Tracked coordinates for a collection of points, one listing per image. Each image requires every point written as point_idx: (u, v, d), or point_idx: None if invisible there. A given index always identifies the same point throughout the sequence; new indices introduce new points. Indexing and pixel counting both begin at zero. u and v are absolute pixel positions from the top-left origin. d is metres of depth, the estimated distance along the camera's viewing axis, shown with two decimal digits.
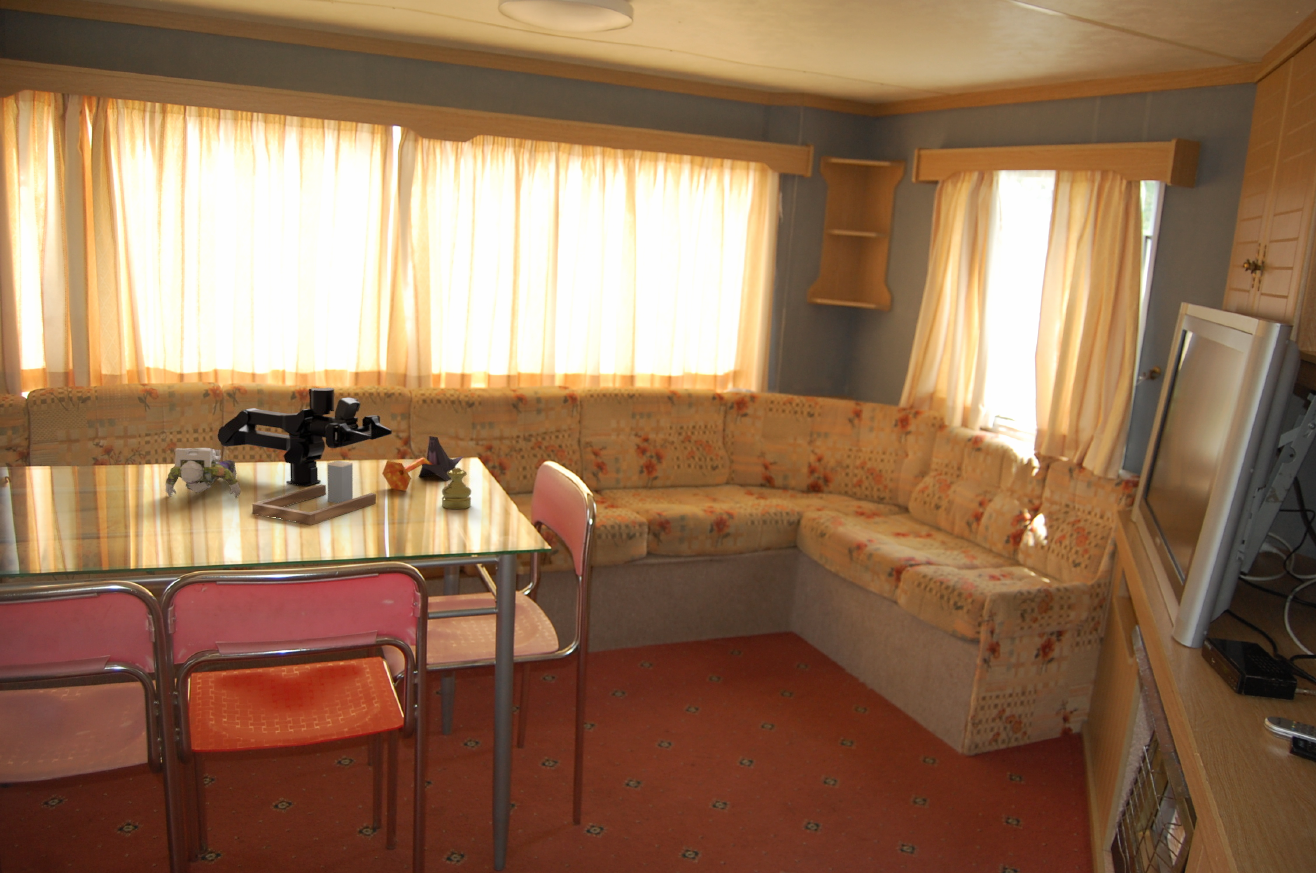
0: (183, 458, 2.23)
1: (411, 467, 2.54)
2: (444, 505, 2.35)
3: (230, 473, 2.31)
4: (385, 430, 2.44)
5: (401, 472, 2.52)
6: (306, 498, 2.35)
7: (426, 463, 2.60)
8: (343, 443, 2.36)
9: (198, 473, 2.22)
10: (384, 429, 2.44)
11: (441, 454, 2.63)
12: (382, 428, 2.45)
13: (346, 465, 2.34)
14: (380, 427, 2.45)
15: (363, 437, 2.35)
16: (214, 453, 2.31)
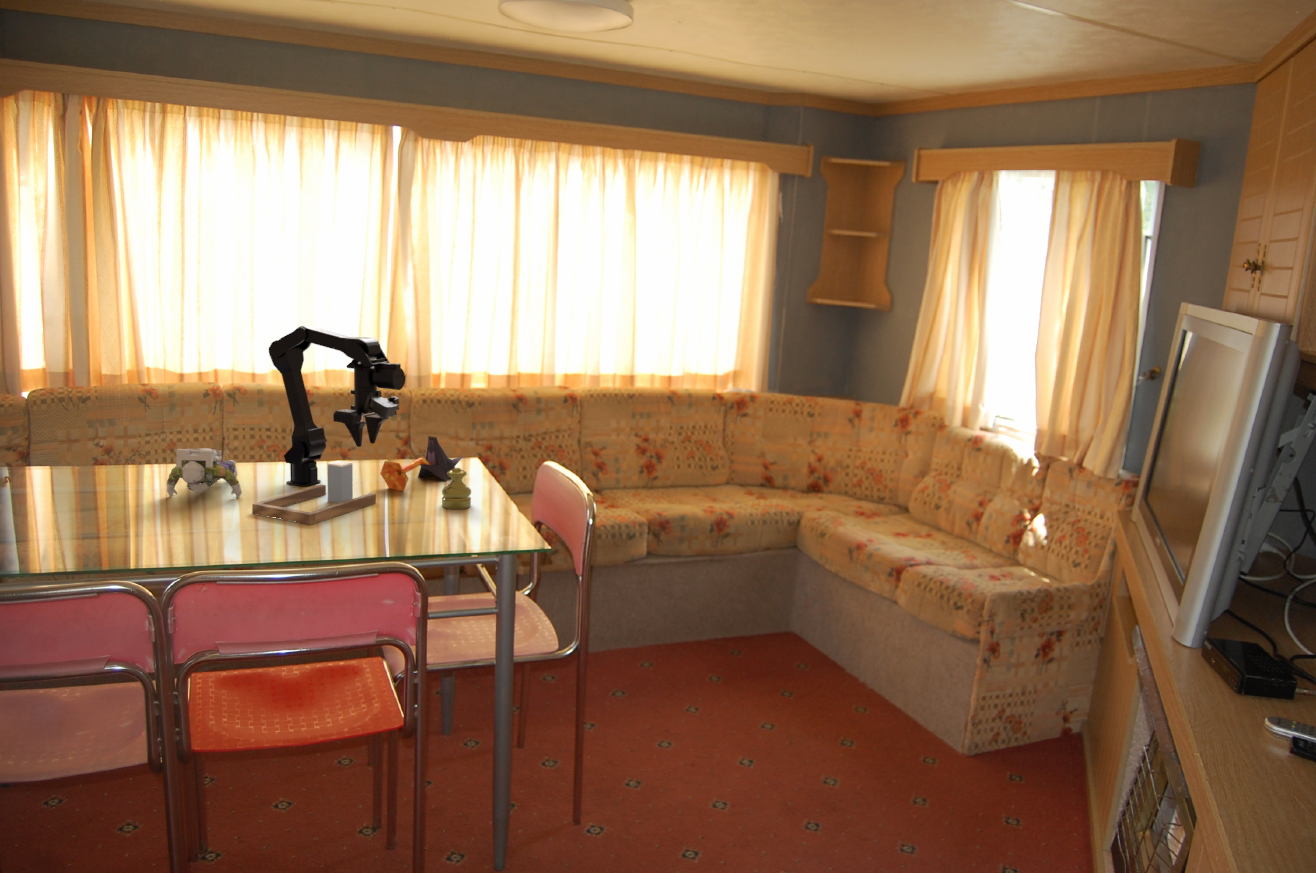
0: (184, 459, 2.23)
1: (409, 467, 2.54)
2: (444, 505, 2.35)
3: (231, 474, 2.31)
4: (372, 437, 2.45)
5: (399, 472, 2.52)
6: (306, 498, 2.35)
7: (425, 463, 2.60)
8: (347, 423, 2.38)
9: (199, 474, 2.22)
10: (373, 435, 2.45)
11: (440, 454, 2.63)
12: (374, 433, 2.45)
13: (346, 465, 2.34)
14: (375, 430, 2.45)
15: (358, 443, 2.40)
16: (215, 454, 2.30)
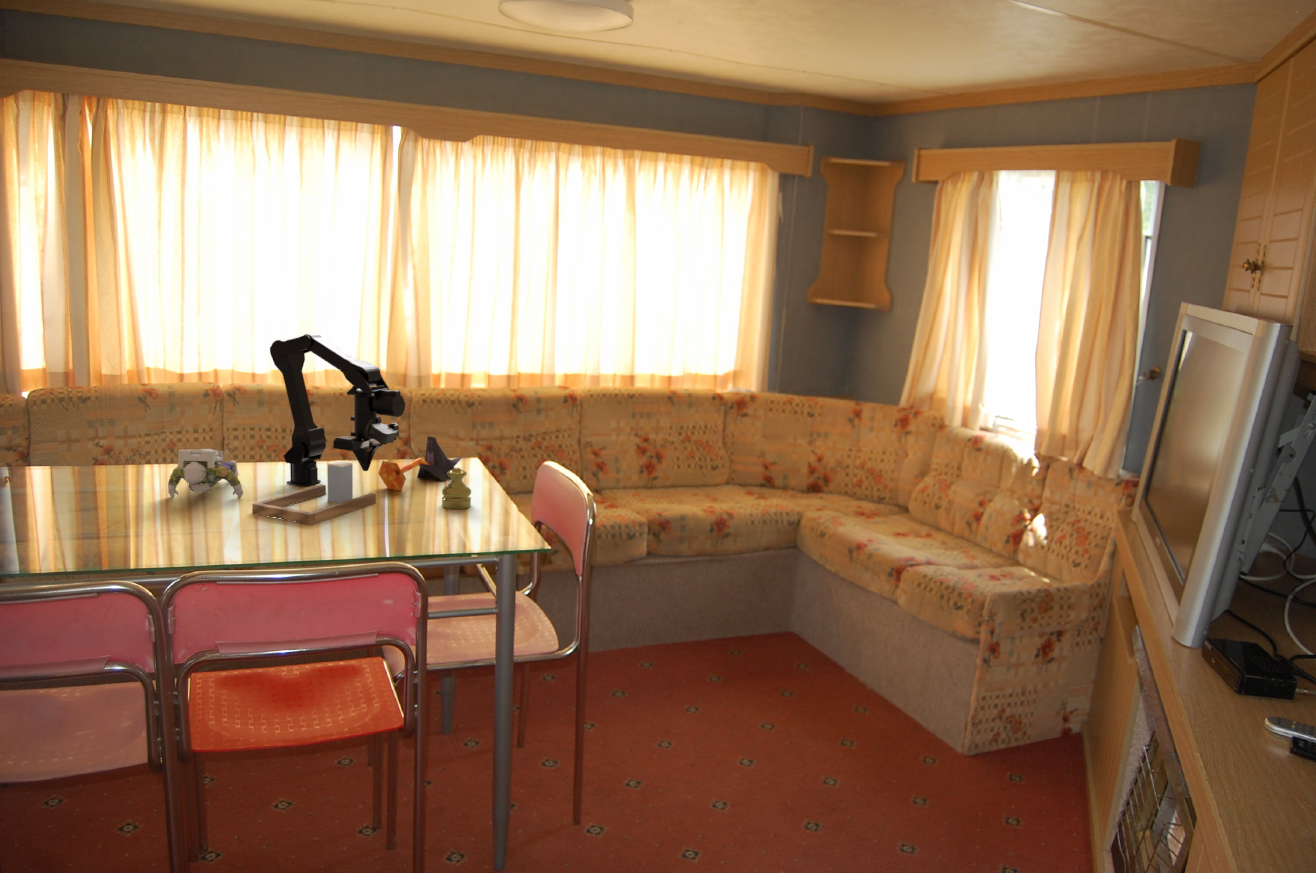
0: (186, 459, 2.22)
1: (407, 467, 2.54)
2: (444, 505, 2.35)
3: (233, 474, 2.30)
4: None
5: (397, 472, 2.52)
6: (306, 498, 2.35)
7: (423, 463, 2.60)
8: None
9: (201, 474, 2.22)
10: None
11: (439, 454, 2.63)
12: (368, 460, 2.44)
13: (346, 465, 2.34)
14: (369, 457, 2.44)
15: (364, 467, 2.44)
16: (217, 454, 2.30)
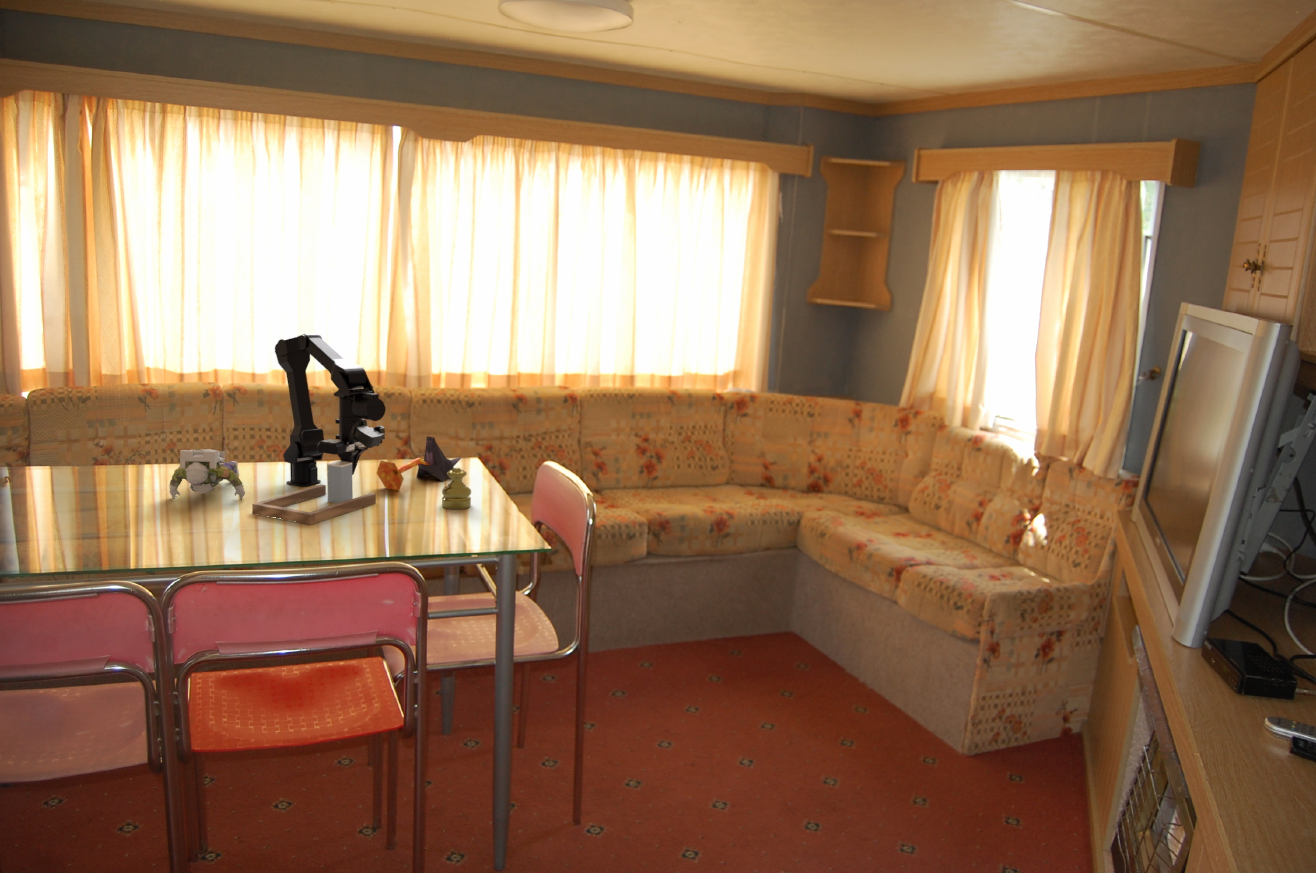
0: (188, 460, 2.22)
1: (406, 467, 2.54)
2: (444, 505, 2.35)
3: (235, 474, 2.30)
4: None
5: (395, 472, 2.52)
6: (306, 498, 2.35)
7: (422, 463, 2.60)
8: None
9: (203, 475, 2.21)
10: None
11: (438, 454, 2.63)
12: None
13: (346, 465, 2.33)
14: (354, 461, 2.38)
15: None
16: (218, 454, 2.30)
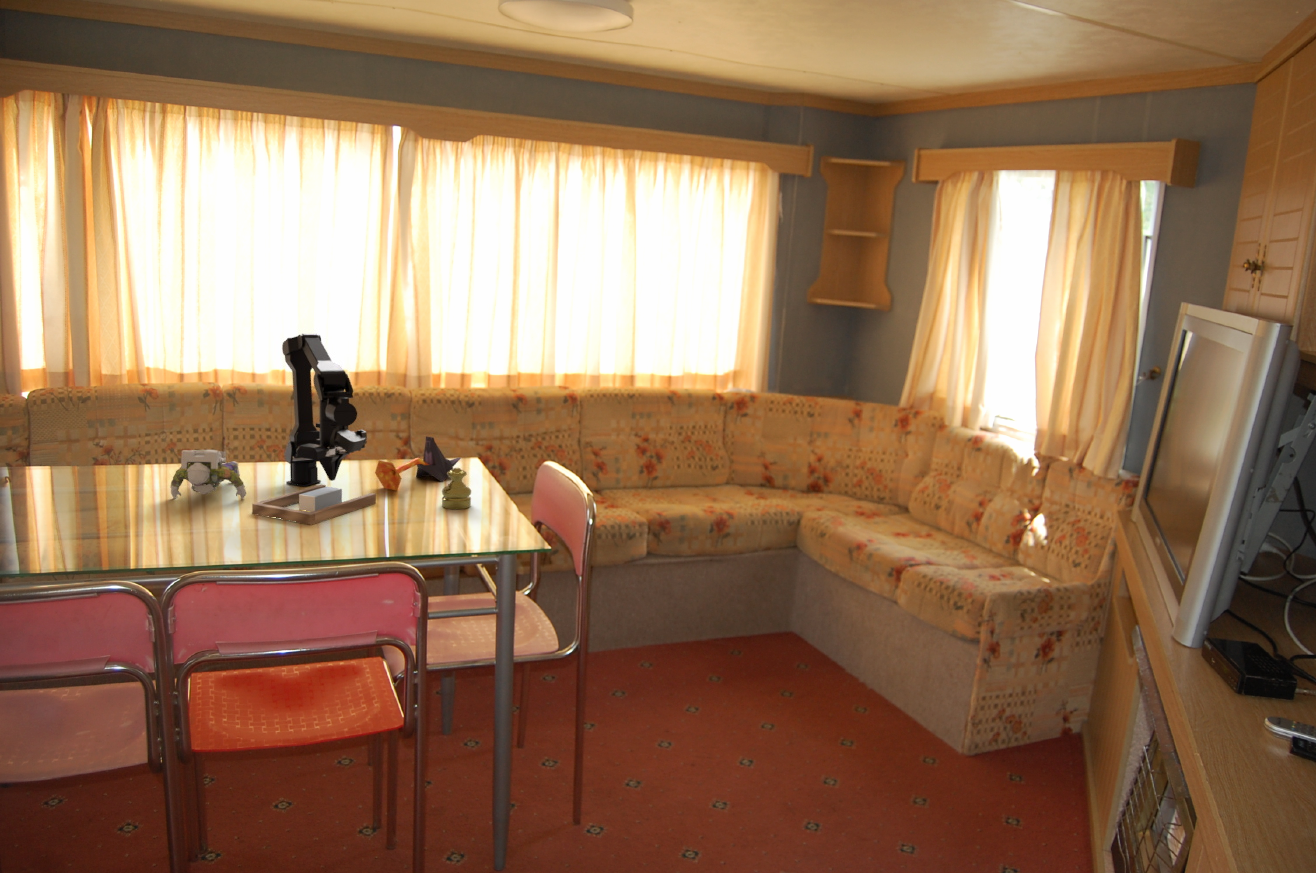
0: (189, 460, 2.22)
1: (404, 467, 2.53)
2: (444, 505, 2.35)
3: (236, 475, 2.30)
4: None
5: (394, 472, 2.52)
6: None
7: (421, 463, 2.59)
8: None
9: (205, 475, 2.21)
10: None
11: (437, 455, 2.62)
12: None
13: (314, 505, 2.24)
14: (335, 466, 2.32)
15: (330, 476, 2.32)
16: (220, 455, 2.29)
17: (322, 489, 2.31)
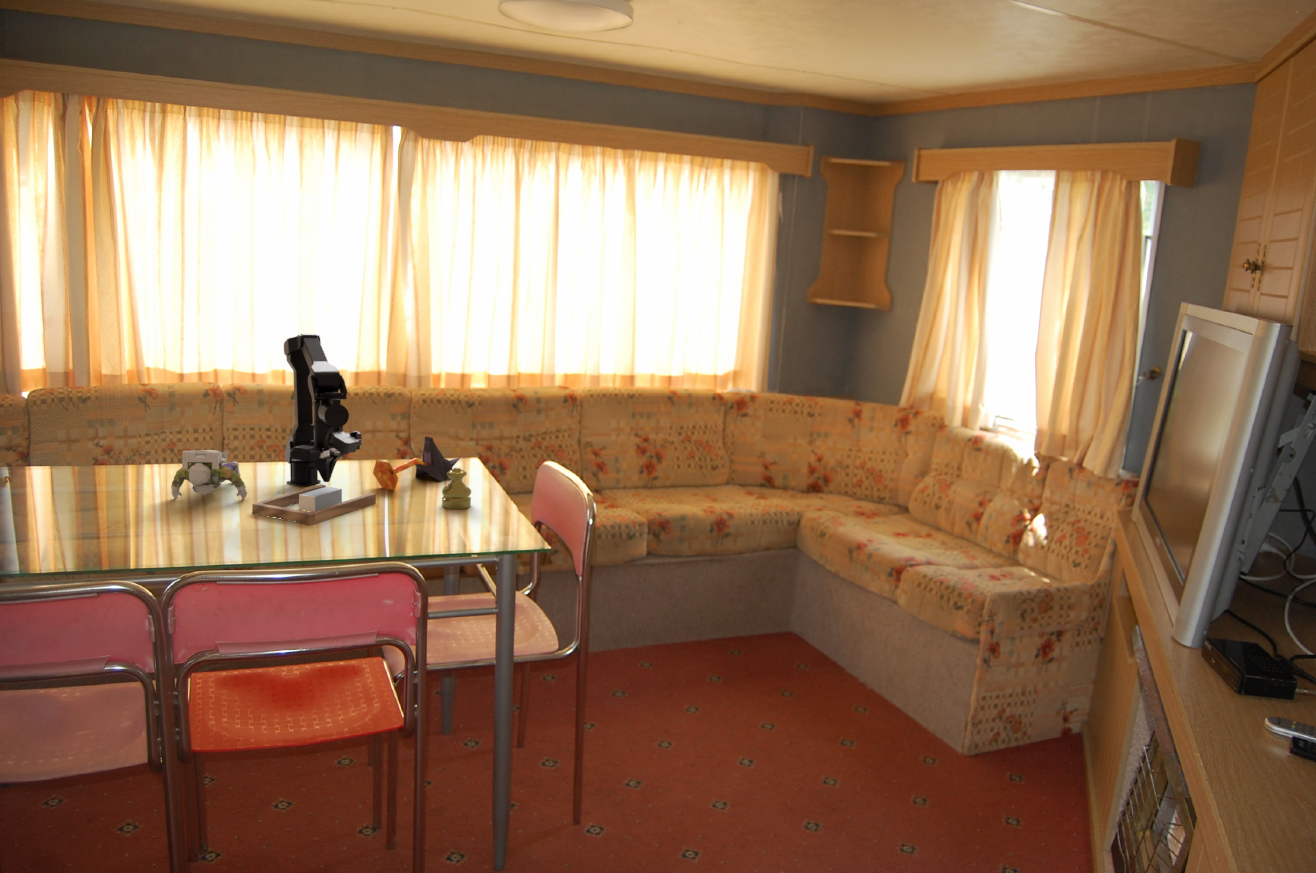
0: (190, 460, 2.21)
1: (402, 467, 2.53)
2: (444, 505, 2.35)
3: (237, 475, 2.29)
4: None
5: (391, 472, 2.52)
6: None
7: (420, 463, 2.59)
8: None
9: (206, 475, 2.21)
10: None
11: (436, 455, 2.62)
12: (329, 471, 2.30)
13: (314, 505, 2.24)
14: (330, 468, 2.30)
15: (324, 478, 2.30)
16: (220, 455, 2.29)
17: (322, 489, 2.31)
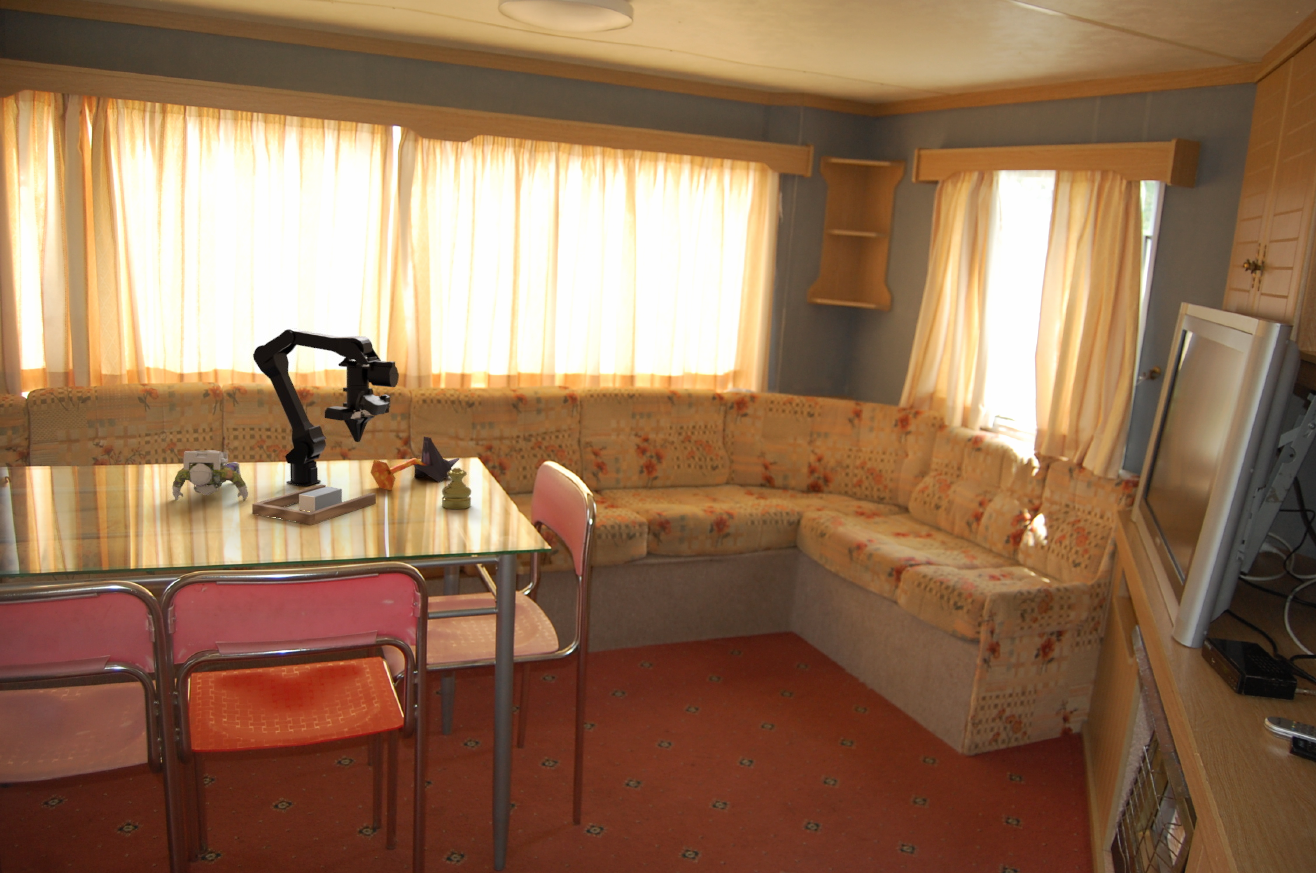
0: (192, 461, 2.21)
1: (400, 467, 2.53)
2: (444, 505, 2.35)
3: (238, 475, 2.29)
4: None
5: (389, 472, 2.52)
6: None
7: (418, 463, 2.59)
8: None
9: (207, 476, 2.20)
10: None
11: (434, 455, 2.62)
12: (360, 431, 2.47)
13: (314, 505, 2.24)
14: (360, 429, 2.47)
15: (355, 438, 2.46)
16: (222, 455, 2.29)
17: (322, 489, 2.31)
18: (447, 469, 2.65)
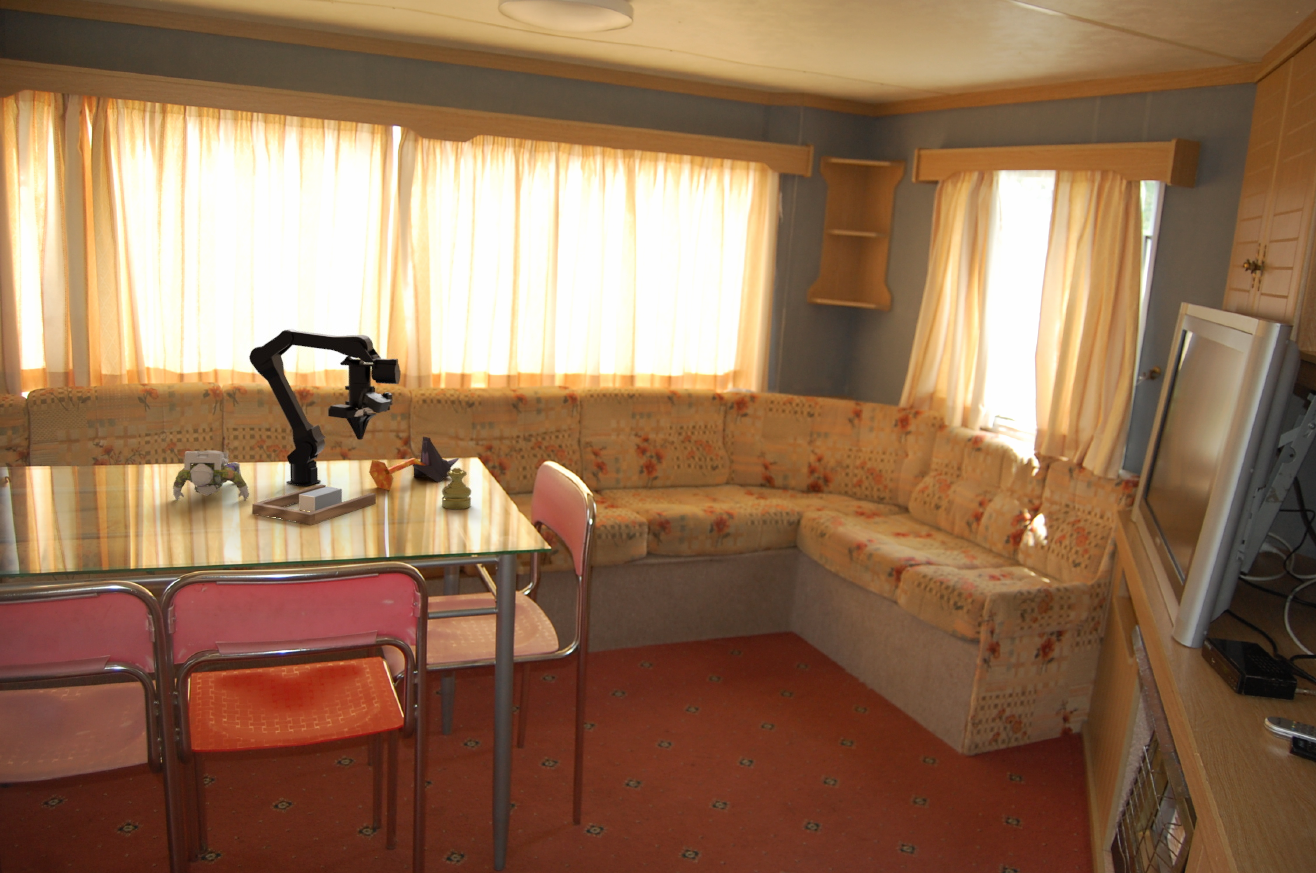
0: (193, 461, 2.21)
1: (398, 467, 2.53)
2: (444, 505, 2.35)
3: (239, 476, 2.29)
4: None
5: (387, 471, 2.52)
6: None
7: (417, 463, 2.59)
8: None
9: (208, 476, 2.20)
10: None
11: (433, 455, 2.62)
12: None
13: (314, 505, 2.24)
14: (363, 426, 2.49)
15: (358, 435, 2.49)
16: (222, 456, 2.29)
17: (322, 489, 2.31)
18: (446, 469, 2.64)
